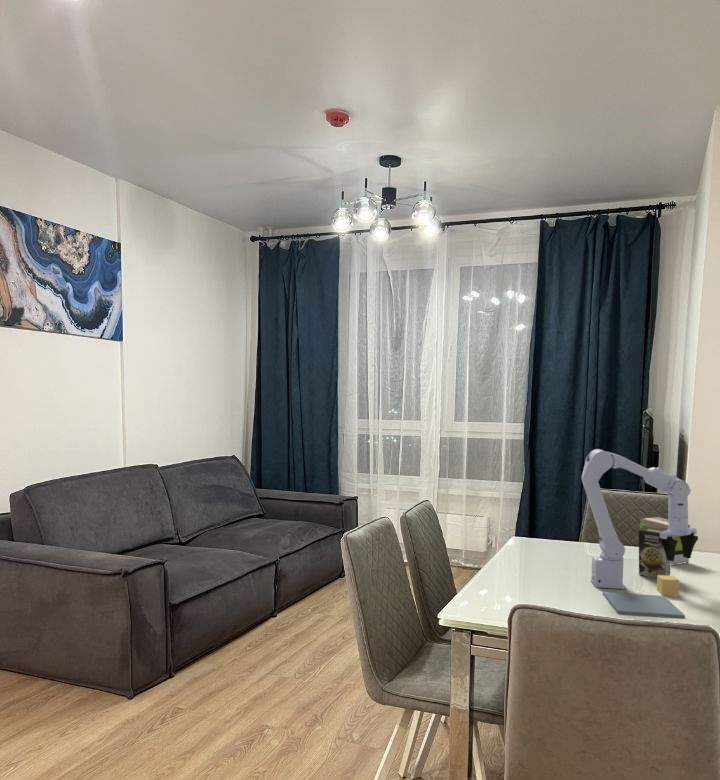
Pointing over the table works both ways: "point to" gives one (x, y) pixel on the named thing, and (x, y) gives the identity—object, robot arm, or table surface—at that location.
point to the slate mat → (642, 605)
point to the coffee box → (652, 553)
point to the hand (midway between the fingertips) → (678, 559)
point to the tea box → (678, 550)
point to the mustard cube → (667, 585)
